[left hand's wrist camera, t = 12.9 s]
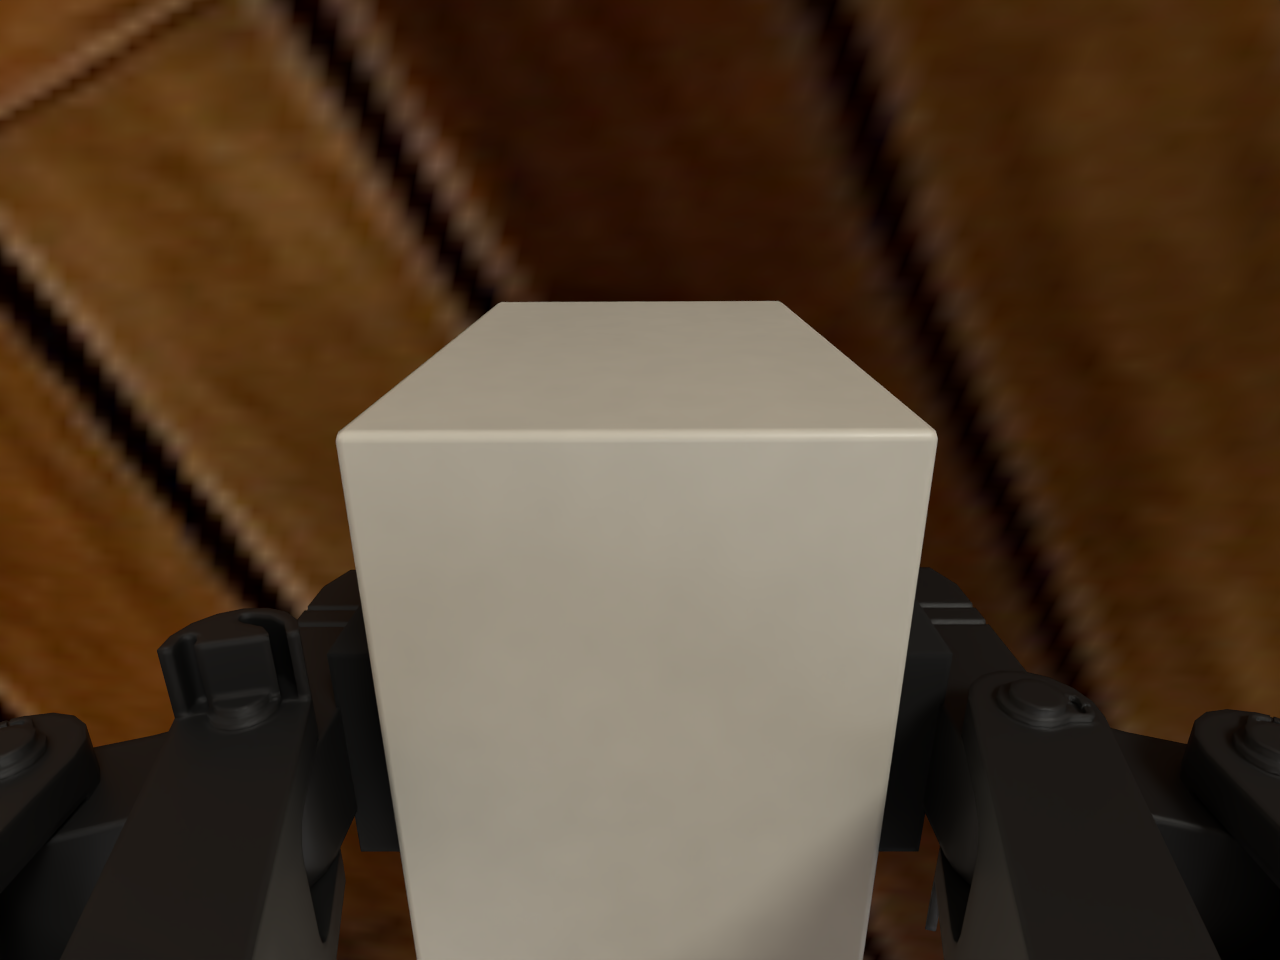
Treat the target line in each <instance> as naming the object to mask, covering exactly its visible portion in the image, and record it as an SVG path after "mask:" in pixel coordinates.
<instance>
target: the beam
mask: <svg viewBox="0 0 1280 960" xmlns="http://www.w3.org/2000/svg"><path fill="white" fill-rule="evenodd" d="M937 440H938V438H937V434H936V431H935V430H934V429H933V428H932V427H931V426H929V425H928V424H927V423H926V422H925V421H923V420H922V419H921V418H920V417H919V416H917V415H916V414H915V413H914V412H913V411H911V410H910V409H909V408H908V407H907V406H905V405H904V404H903V403H902V402H901V401H899V400H898V399H897V398H896V397H895V396H893V395H892V394H891V393H890V392H888V391H887V390H886V389H885V388H884V387H882V386H881V385H880V384H879V383H878V382H876V381H875V380H874V379H873V378H872V377H870V376H869V375H868V374H867V373H866V372H864V371H863V370H862V369H861V368H860V367H858V366H857V365H856V364H855V363H854V362H852V361H851V360H850V359H849V358H848V357H846V356H845V355H844V354H843V353H842V352H840V351H839V350H838V349H837V348H836V347H834V346H833V345H832V344H831V343H830V342H828V341H827V340H826V339H825V338H824V337H822V336H821V335H820V334H819V333H818V332H816V331H815V330H814V329H813V328H811V327H810V326H809V325H808V324H807V323H805V322H804V321H803V320H802V319H801V318H799V317H798V316H797V315H796V314H795V313H793V312H792V311H791V310H790V309H789V308H787V307H786V306H785V305H784V304H783V303H781V302H779V301H697V302H501V303H499V304H497V305H496V306H495V307H493V308H492V309H491V310H490V311H488V312H487V313H486V314H485V315H483V316H482V317H481V318H480V319H478V320H477V321H476V322H475V323H473V324H472V325H471V326H470V327H468V328H467V329H466V330H465V331H463V332H462V333H461V334H460V335H458V336H457V337H456V338H455V339H453V340H452V341H451V342H450V343H449V344H447V345H446V346H445V347H444V348H442V349H441V350H440V351H439V352H437V353H436V354H435V355H434V356H432V357H431V358H430V359H429V360H427V361H426V362H425V363H424V364H422V365H421V366H420V367H419V368H417V369H416V370H415V371H414V372H412V373H411V374H410V375H409V376H408V377H406V378H405V379H404V380H403V381H401V382H400V383H399V384H398V385H396V386H395V387H394V388H393V389H391V390H390V391H389V392H388V393H386V394H385V395H384V396H383V397H381V398H380V399H379V400H378V401H376V402H375V403H374V404H373V405H371V406H370V407H369V408H368V409H367V410H365V411H364V412H363V413H362V414H360V415H359V416H358V417H357V418H355V419H354V420H353V421H352V422H350V423H349V424H348V425H347V426H345V427H344V428H343V429H342V430H340V431H339V432H338V434H337V438H336V446H337V452H338V458H339V465H340V471H341V477H342V484H343V490H344V497H345V503H346V509H347V516H348V522H349V528H350V535H351V541H352V548H353V554H354V560H355V567H356V573H357V579H358V586H359V592H360V599H361V605H362V611H363V618H364V624H365V630H366V637H367V643H368V650H369V656H370V662H371V669H372V675H373V681H374V688H375V694H376V701H377V707H378V713H379V720H380V726H381V732H382V739H383V745H384V752H385V758H386V764H387V771H388V777H389V783H390V790H391V796H392V803H393V809H394V815H395V822H396V828H397V834H398V841H399V847H400V854H401V860H402V866H403V873H404V879H405V885H406V892H407V898H408V905H409V911H410V917H411V924H412V930H413V936H414V943H415V949H416V956H417V960H863V954H864V947H865V940H866V933H867V926H868V919H869V912H870V905H871V898H872V891H873V884H874V877H875V870H876V864H877V857H878V850H879V843H880V836H881V829H882V822H883V815H884V808H885V801H886V794H887V787H888V780H889V773H890V766H891V759H892V753H893V746H894V739H895V732H896V725H897V718H898V711H899V704H900V697H901V690H902V683H903V676H904V669H905V662H906V655H907V648H908V641H909V635H910V628H911V621H912V614H913V607H914V600H915V593H916V586H917V579H918V572H919V565H920V558H921V551H922V544H923V537H924V530H925V523H926V517H927V510H928V503H929V496H930V489H931V482H932V475H933V468H934V461H935V454H936V447H937Z"/></svg>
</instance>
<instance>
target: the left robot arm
mask: <svg viewBox="0 0 1280 960" xmlns="http://www.w3.org/2000/svg"><path fill="white" fill-rule="evenodd" d="M157 653H158V657H159V660H160V664H161V668H162V671H163V675H164V679H165V683H166V686H167V690H168V694H169V697H170V701H171V705H172V709H173V712H174V716H175V719H174V722H173V724H172V726H171V728H170V730H169V732H165V733H161V734H157V735H154V736H149V737H144V738H139V739H134V740H129V741H124V742H119V743H114V744H109V745H104V746H99V747H94V748H93V745H92V742H91V739H90V736H89V733H88V730H87V726H86V724H85V723H83V722H82V721H81V720H79V719H78V718H77V717H75V716H73V715H66V714H59V713H47V714H39V715H31V716H23V717H18V718H14V719H11V721H7V720H6V721H3V722H0V960H336V956H337V948H338V939H339V931H340V923H341V914H342V906H343V897H344V889H345V881H346V880H345V873H344V866H343V860H342V855H341V850H340V847H341V845H342V842H343V840H344V838H345V836H346V834H347V831H348V829H349V827H350V825H351V823H352V820H353V818H354V816H355V819H356V825H357V831H358V836H359V842H360V848H361V851H400V847H399V841H398V834H397V828H396V822H395V815H394V809H393V803H392V796H391V790H390V783H389V777H388V771H387V764H386V758H385V752H384V745H383V739H382V732H381V726H380V720H379V713H378V707H377V701H376V694H375V688H374V681H373V675H372V669H371V662H370V656H369V650H368V643H367V637H366V630H365V624H364V618H363V611H362V605H361V599H360V592H359V586H358V579H357V573H356V570H350V571H348V572H347V573H345V574H343V575H342V576H340V577H339V578H337V579H335V580H334V581H332V582H330V583H329V584H327V585H326V586H324V587H323V588H322V589H321V591H320V592H319V593H318V594H317V596H316V597H315V598H314V599H313V601H312V602H311V603H310V604H309V606H308V610H305V611H304V612H303V613H302V615H301V616H300V617H299V618H298V620H297V619H295V618H294V617H293V616H291V615H290V614H289V613H287V612H285V611H280V610H275V609H271V608H247V609H239V610H234V611H229V612H224V613H219V614H216V615H213V616H210V617H208V618H205V619H202V620H200V621H197V622H194V623H191V624H190V625H188V626H186V627H185V628H183V629H181V630H180V631H178V632H176V633H175V634H173V635H171V636H170V637H169V638H168V639H167V640H166V641H165V642H164V643H163V644H162V645H161V646H160V648H159V649H158V650H157ZM925 813H926V815H927V817H928V820H929V822H930V824H931V826H932V828H933V831H934V833H935V835H936V837H937V839H938V842H939V844H940V850H939V855H938V860H937V866H936V871H935V876H934V882H933V887H932V892H931V898H930V903H929V908H928V914H927V921H926V928H925V929H927V930H932V931H936V927H937V922H938V917H939V921H940V929H941V938H942V946H943V954H944V960H1280V719H1279V718H1276V717H1273V718H1272V717H1270V715H1265V714H1261V713H1256V712H1246V711H1238V710H1229V709H1226V710H1218V711H1211V712H1206V713H1204V714H1203V715H1202V716H1200V717H1199V718H1198V719H1197V720H1195V722H1194V725H1193V728H1192V731H1191V734H1190V737H1189V740H1188V743H1187V744H1183V743H1178V742H1173V741H1168V740H1163V739H1158V738H1153V737H1148V736H1143V735H1138V734H1133V733H1128V732H1124V731H1120V730H1117V729H1113V728H1110V726H1109V724H1108V722H1107V720H1106V718H1105V717H1104V715H1103V714H1102V713H1101V711H1100V710H1099V709H1098V708H1097V706H1096V705H1095V704H1094V703H1093V702H1092V701H1091V700H1090V699H1088V698H1087V697H1085V696H1084V695H1082V694H1081V693H1080V692H1078V691H1077V690H1075V689H1074V688H1072V687H1070V686H1068V685H1065V684H1063V683H1061V682H1058V681H1056V680H1054V679H1051V678H1049V677H1046V676H1041V675H1037V674H1033V673H1029V672H1026V670H1025V669H1024V668H1023V667H1022V665H1021V664H1020V663H1019V662H1018V660H1017V659H1016V658H1015V657H1014V655H1013V654H1012V653H1011V652H1010V650H1009V649H1008V648H1007V647H1006V645H1005V644H1004V643H1003V642H1002V640H1001V639H1000V638H999V637H998V635H997V634H996V633H995V632H994V630H993V629H992V628H991V627H990V625H989V624H985V619H984V618H983V617H982V615H981V614H980V613H979V612H978V610H977V609H976V608H973V607H972V603H971V602H970V600H969V599H968V598H967V597H966V595H965V594H964V593H963V592H962V590H961V589H960V588H959V587H958V585H957V584H955V583H954V582H952V581H951V580H949V579H947V578H946V577H944V576H942V575H941V574H939V573H938V572H936V571H934V570H933V569H931V568H929V567H919V572H918V579H917V586H916V593H915V600H914V607H913V614H912V621H911V628H910V635H909V641H908V648H907V655H906V662H905V669H904V676H903V683H902V690H901V697H900V704H899V711H898V718H897V725H896V732H895V739H894V746H893V753H892V759H891V766H890V773H889V780H888V787H887V794H886V801H885V808H884V815H883V822H882V829H881V836H880V843H879V850H878V851H919V845H920V840H921V834H922V828H923V822H924V817H925Z"/></svg>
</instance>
